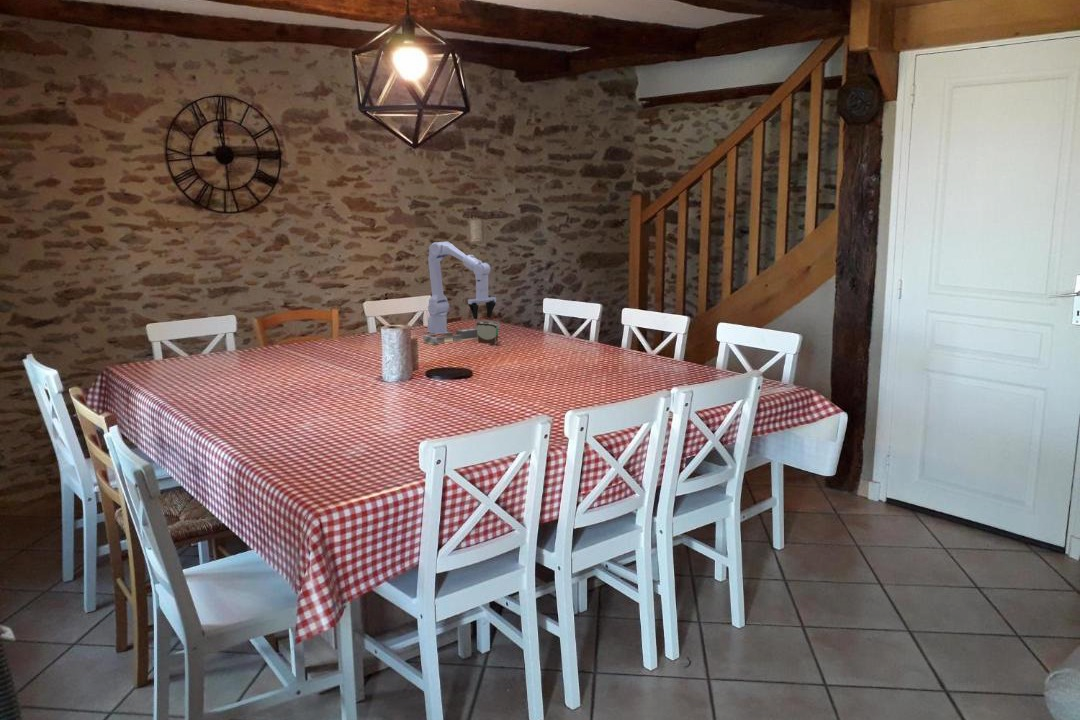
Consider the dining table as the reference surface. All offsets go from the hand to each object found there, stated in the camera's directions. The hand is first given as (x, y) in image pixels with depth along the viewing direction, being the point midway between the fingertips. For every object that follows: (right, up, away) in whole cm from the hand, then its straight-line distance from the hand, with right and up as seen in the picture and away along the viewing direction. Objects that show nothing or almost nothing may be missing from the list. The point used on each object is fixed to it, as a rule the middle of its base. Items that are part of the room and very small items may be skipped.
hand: (482, 318), depth 390 cm
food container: (+4, -12, -9) cm, 16 cm away
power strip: (-5, -9, +3) cm, 11 cm away
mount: (-11, -10, -2) cm, 15 cm away
